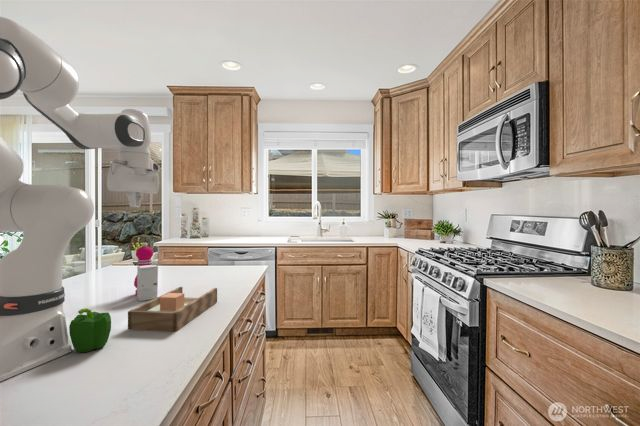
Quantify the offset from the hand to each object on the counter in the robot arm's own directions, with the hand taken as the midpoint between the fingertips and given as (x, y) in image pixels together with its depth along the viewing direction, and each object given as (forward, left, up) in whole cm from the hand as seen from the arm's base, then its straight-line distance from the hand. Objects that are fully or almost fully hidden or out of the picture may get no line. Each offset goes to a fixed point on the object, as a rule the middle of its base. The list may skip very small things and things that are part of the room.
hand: (134, 207), depth 103 cm
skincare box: (+16, +6, -34) cm, 38 cm away
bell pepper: (-25, -6, -34) cm, 43 cm away
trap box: (+1, -14, -34) cm, 37 cm away
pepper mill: (+22, +11, -34) cm, 42 cm away
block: (-3, -14, -31) cm, 34 cm away
